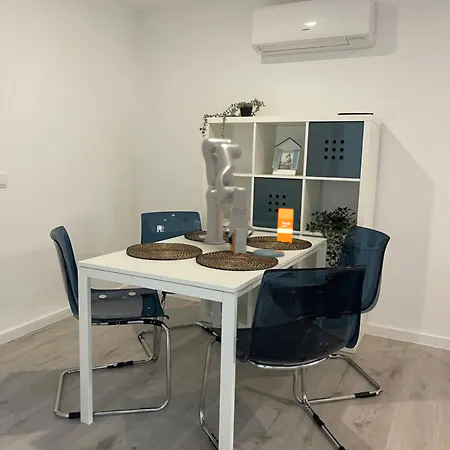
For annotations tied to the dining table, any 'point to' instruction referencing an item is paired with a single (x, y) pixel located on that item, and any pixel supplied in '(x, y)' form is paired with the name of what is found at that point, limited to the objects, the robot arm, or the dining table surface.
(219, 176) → the robot arm
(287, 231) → the orange juice
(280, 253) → the dish
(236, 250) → the small box
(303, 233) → the dining table surface
